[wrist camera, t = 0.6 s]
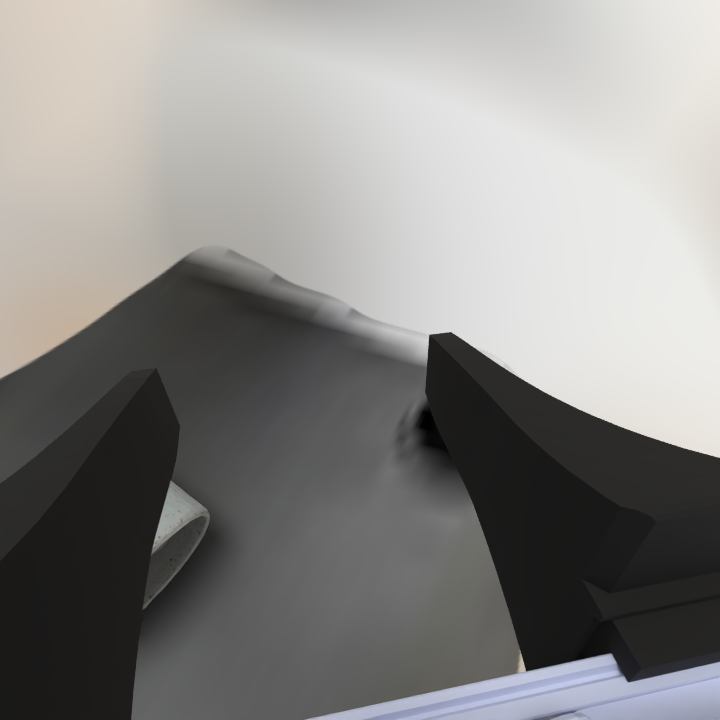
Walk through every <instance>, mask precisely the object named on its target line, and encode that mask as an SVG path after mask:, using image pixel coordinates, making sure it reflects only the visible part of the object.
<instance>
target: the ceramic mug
mask: <svg viewBox="0 0 720 720" xmlns="http://www.w3.org/2000/svg"><path fill="white" fill-rule="evenodd" d="M209 520H210V514H209V512H208V511H207V509H206V508H205V507H204V506H202V505H201V504H200V503H199V502H197V501H196V500H195V499H193V498H192V497H191V496H189V495H188V494H187V493H186V492H184V491H183V490H182V489H181V488H180V487H178V486H177V485H176V484H175V483H173V482H172V481H170V485H169V489H168V492H167V496H166V500H165V503H164V507H163V511H162V514H161V518H160V522H159V525H158V529H157V533H156V536H155V540H154V545H153V549H152V554H151V558H150V564H149V571H148V577H147V583H146V590H145V596H144V603H143V609H145V608H146V607H147V605H148V604H149V603H150V602H151V601H152V600H153V599H154V598H155V597H156V595H157V594H159V593H160V592H161V591H162V590H163V589H164V588H165V587H166V585H167V584H168V583H169V582H170V581H171V579H172V578H173V577H174V576H175V575H176V574H177V572H178V571H179V570H180V569H181V568H182V566H183V565H184V563H185V562H186V561H187V560H188V559H189V557H190V556H191V554H192V553H193V551H194V550H195V549H196V547H197V546H198V544H199V543H200V541H201V539H202V538H203V536H204V535H205V532H206V529H207V527H208V525H209Z"/></svg>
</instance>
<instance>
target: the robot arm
mask: <svg viewBox="0 0 720 720" xmlns="http://www.w3.org/2000/svg"><path fill="white" fill-rule="evenodd" d="M425 393H426V396H427V399H428V402H429V405H430V409H431V412H432V415H433V418H434V421H435V423H436V425H437V428H438V430H439V432H440V434H441V436H442V438H443V440H444V443H445V445H446V447H447V449H448V451H449V453H450V455H451V457H452V459H453V461H454V463H455V465H456V467H457V469H458V472H459V474H460V476H461V478H462V480H463V482H464V484H465V486H466V488H467V490H468V493H469V495H470V497H471V500H472V502H473V505H474V507H475V510H476V513H477V516H478V519H479V521H480V524H481V527H482V530H483V533H484V535H485V538H486V541H487V544H488V547H489V550H490V553H491V556H492V559H493V562H494V565H495V568H496V571H497V574H498V577H499V581H500V584H501V587H502V590H503V593H504V597H505V600H506V603H507V606H508V609H509V613H510V616H511V619H512V623H513V626H514V630H515V633H516V637H517V640H518V644H519V647H520V651H521V654H522V658H523V661H524V665H525V668H526V672H522V673H517V674H513V675H508V676H504V677H499V678H494V679H490V680H485V681H481V682H476V683H471V684H467V685H462V686H458V687H453V688H448V689H444V690H439V691H435V692H430V693H425V694H421V695H416V696H412V697H407V698H402V699H398V700H393V701H389V702H384V703H379V704H375V705H370V706H366V707H361V708H356V709H352V710H347V711H343V712H338V713H333V714H329V715H324V716H320V717H315V718H310V719H306V720H720V458H717V457H714V456H710V455H707V454H702V453H699V452H695V451H692V450H688V449H684V448H681V447H677V446H675V445H671V444H668V443H665V442H662V441H659V440H656V439H653V438H650V437H647V436H644V435H641V434H638V433H635V432H633V431H630V430H627V429H624V428H622V427H619V426H617V425H614V424H612V423H609V422H607V421H605V420H602V419H600V418H597V417H595V416H592V415H590V414H588V413H585V412H583V411H581V410H578V409H577V408H575V407H573V406H570V405H569V404H566V403H564V402H562V401H560V400H558V399H556V398H554V397H552V396H550V395H548V394H547V393H545V392H543V391H541V390H539V389H538V388H536V387H534V386H532V385H531V384H529V383H527V382H526V381H524V380H522V379H520V378H519V377H517V376H516V375H514V374H512V373H511V372H509V371H508V370H506V369H505V368H503V367H501V366H500V365H498V364H497V363H495V362H494V361H492V360H491V359H489V358H488V357H487V356H485V355H484V354H482V353H481V352H479V351H478V350H476V349H475V348H474V347H472V346H471V345H469V344H468V343H466V342H465V341H464V340H462V339H461V338H459V337H458V336H456V335H455V334H453V333H451V332H449V333H440V334H432V335H429V348H428V362H427V376H426V390H425ZM179 430H180V425H179V422H178V420H177V417H176V415H175V413H174V410H173V408H172V405H171V403H170V400H169V398H168V395H167V393H166V390H165V388H164V386H163V383H162V381H161V378H160V376H159V373H158V371H157V368H155V369H147V370H139V371H132V372H130V373H129V374H128V375H127V376H125V377H124V378H123V379H122V380H121V381H120V382H119V383H117V384H116V385H115V386H114V387H113V388H112V389H111V390H110V391H109V392H108V393H107V394H106V395H105V396H104V397H102V398H101V399H100V400H99V401H98V402H97V403H96V404H95V405H94V406H93V407H92V408H91V409H90V410H88V411H87V412H86V413H85V414H84V415H83V416H82V417H81V418H80V419H79V420H78V421H77V422H75V423H74V424H73V425H72V426H71V427H70V428H69V429H68V430H66V431H65V432H64V433H63V434H62V435H61V436H59V437H58V438H57V439H56V440H55V441H53V442H52V443H51V444H50V445H49V446H48V447H46V448H45V449H44V450H43V451H42V452H41V453H39V454H38V455H37V456H36V457H35V458H33V459H32V460H31V461H30V462H28V463H27V464H26V465H25V466H23V467H22V468H21V469H19V470H18V471H17V472H15V473H14V474H13V475H12V476H10V477H9V478H7V479H6V480H5V481H3V482H2V483H1V484H0V720H131V714H132V701H133V688H134V679H135V669H136V660H137V650H138V641H139V633H140V626H141V618H142V611H143V603H144V596H145V590H146V583H147V577H148V571H149V564H150V558H151V554H152V549H153V545H154V540H155V536H156V533H157V529H158V525H159V522H160V518H161V514H162V511H163V507H164V503H165V500H166V496H167V492H168V489H169V485H170V481H171V477H172V474H173V470H174V466H175V462H176V456H177V448H178V440H179Z"/></svg>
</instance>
